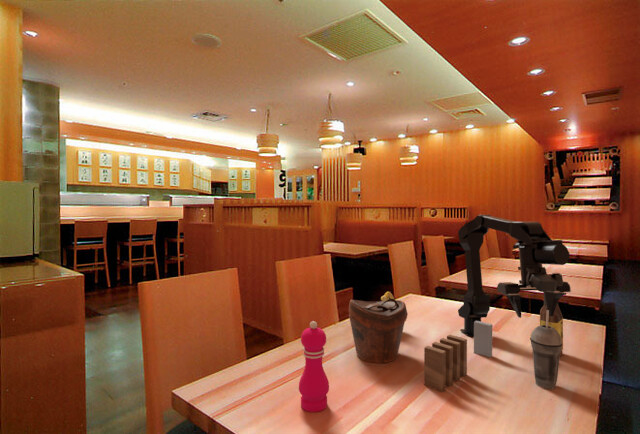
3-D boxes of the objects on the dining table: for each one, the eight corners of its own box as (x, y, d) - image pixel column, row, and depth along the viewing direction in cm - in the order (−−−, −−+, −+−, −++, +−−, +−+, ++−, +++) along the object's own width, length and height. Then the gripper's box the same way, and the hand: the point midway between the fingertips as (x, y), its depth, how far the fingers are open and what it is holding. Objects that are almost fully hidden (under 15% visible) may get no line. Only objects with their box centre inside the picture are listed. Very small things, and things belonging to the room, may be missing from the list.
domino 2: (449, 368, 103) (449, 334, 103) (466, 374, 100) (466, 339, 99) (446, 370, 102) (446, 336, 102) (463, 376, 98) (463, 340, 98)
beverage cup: (557, 380, 96) (558, 306, 95) (566, 394, 89) (567, 314, 88) (526, 376, 98) (527, 304, 98) (533, 389, 91) (533, 311, 91)
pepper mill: (298, 397, 88) (297, 317, 88) (327, 396, 89) (327, 316, 88) (299, 414, 81) (298, 327, 80) (330, 412, 82) (330, 326, 81)
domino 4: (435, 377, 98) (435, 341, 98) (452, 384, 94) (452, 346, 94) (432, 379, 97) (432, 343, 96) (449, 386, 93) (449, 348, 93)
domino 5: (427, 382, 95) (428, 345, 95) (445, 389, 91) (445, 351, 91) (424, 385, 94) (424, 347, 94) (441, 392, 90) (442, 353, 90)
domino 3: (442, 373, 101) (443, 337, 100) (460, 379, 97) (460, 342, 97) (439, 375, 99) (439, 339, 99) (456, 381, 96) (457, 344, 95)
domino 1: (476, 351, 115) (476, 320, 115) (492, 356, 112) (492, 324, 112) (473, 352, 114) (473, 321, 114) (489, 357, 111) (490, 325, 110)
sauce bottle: (566, 358, 110) (567, 293, 109) (544, 356, 111) (545, 293, 111) (557, 349, 116) (558, 289, 116) (536, 348, 118) (536, 288, 117)
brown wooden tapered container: (419, 352, 115) (418, 296, 114) (385, 374, 100) (384, 310, 100) (373, 339, 127) (372, 289, 126) (336, 357, 112) (335, 300, 112)
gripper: (513, 266, 99) (518, 324, 98) (581, 263, 99) (587, 321, 97) (494, 264, 110) (498, 315, 109) (555, 262, 110) (560, 313, 108)
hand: (535, 316), depth 105 cm, fingers open, 9 cm apart
